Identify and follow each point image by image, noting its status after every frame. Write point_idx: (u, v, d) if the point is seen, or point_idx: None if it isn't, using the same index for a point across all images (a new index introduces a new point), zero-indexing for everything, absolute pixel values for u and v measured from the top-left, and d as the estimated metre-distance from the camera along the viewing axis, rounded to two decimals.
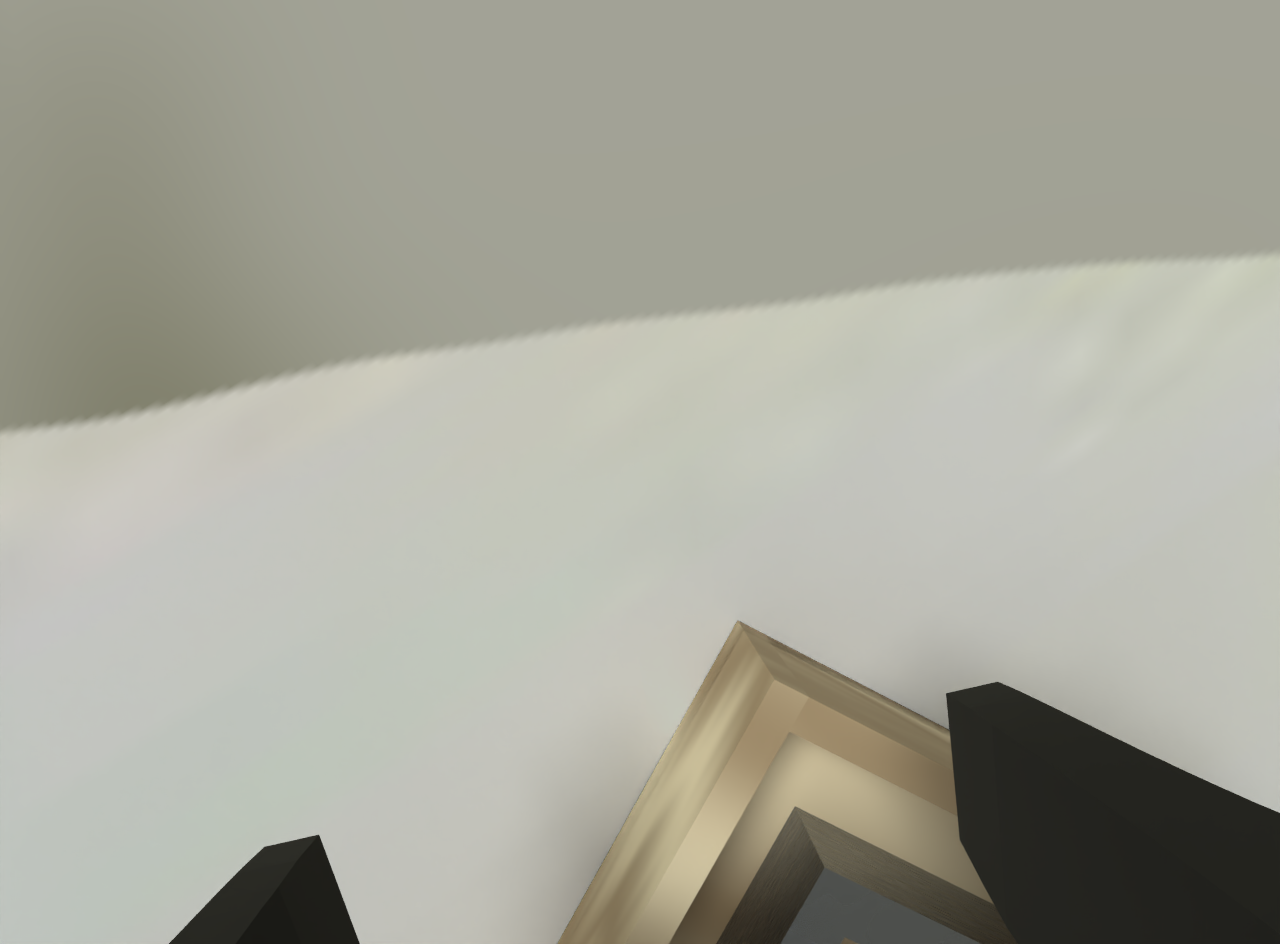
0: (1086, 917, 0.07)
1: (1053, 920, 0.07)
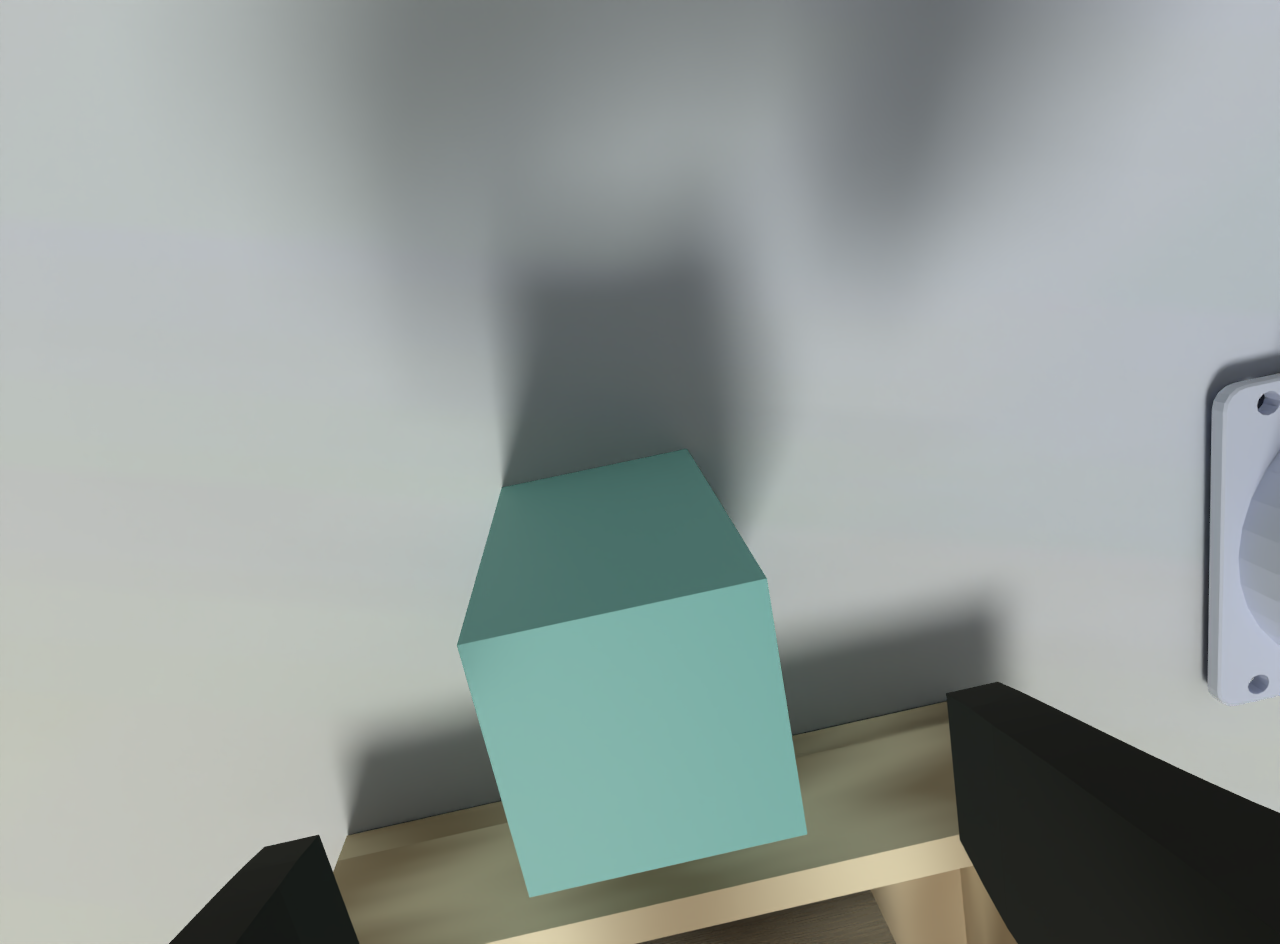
0: (1086, 917, 0.07)
1: (1053, 920, 0.07)
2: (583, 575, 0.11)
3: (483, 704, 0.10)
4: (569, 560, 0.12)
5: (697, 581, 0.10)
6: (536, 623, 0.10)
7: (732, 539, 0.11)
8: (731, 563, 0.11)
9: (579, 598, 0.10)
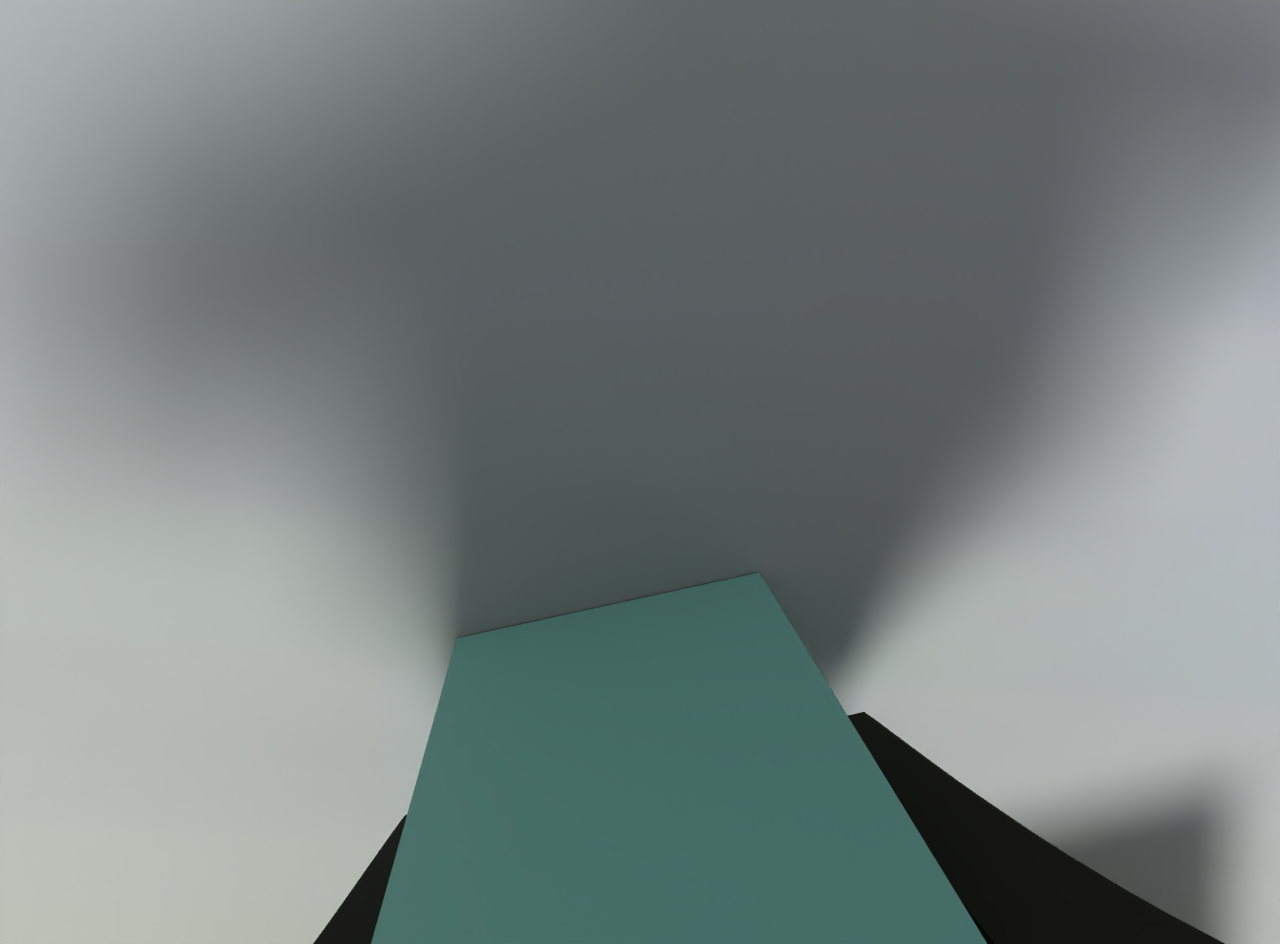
0: None
1: None
2: None
3: None
4: (568, 932, 0.05)
5: None
6: None
7: (946, 915, 0.05)
8: None
9: None
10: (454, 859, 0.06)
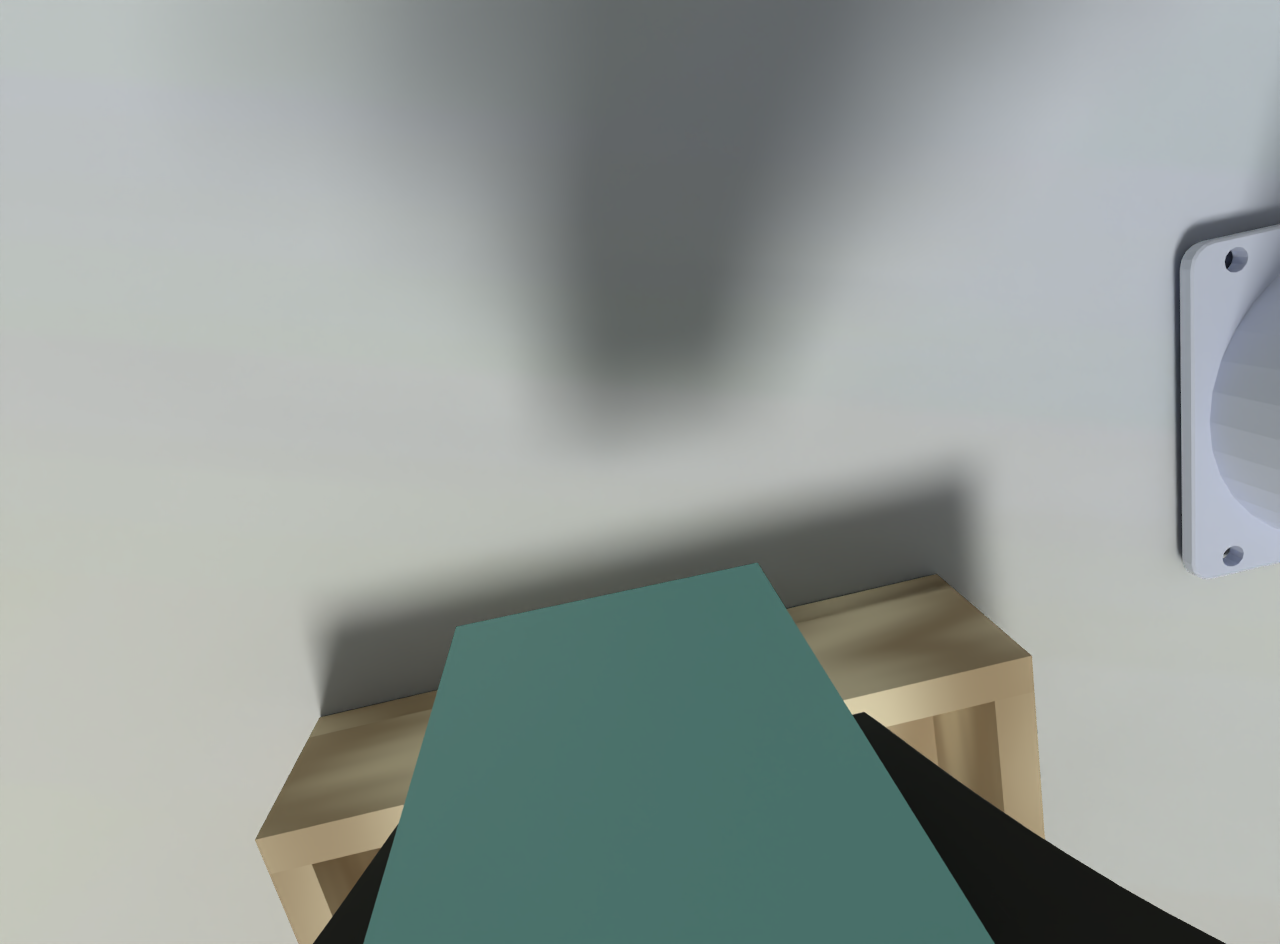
0: None
1: None
2: None
3: None
4: (566, 908, 0.05)
5: None
6: None
7: (938, 891, 0.05)
8: None
9: None
10: (453, 838, 0.06)
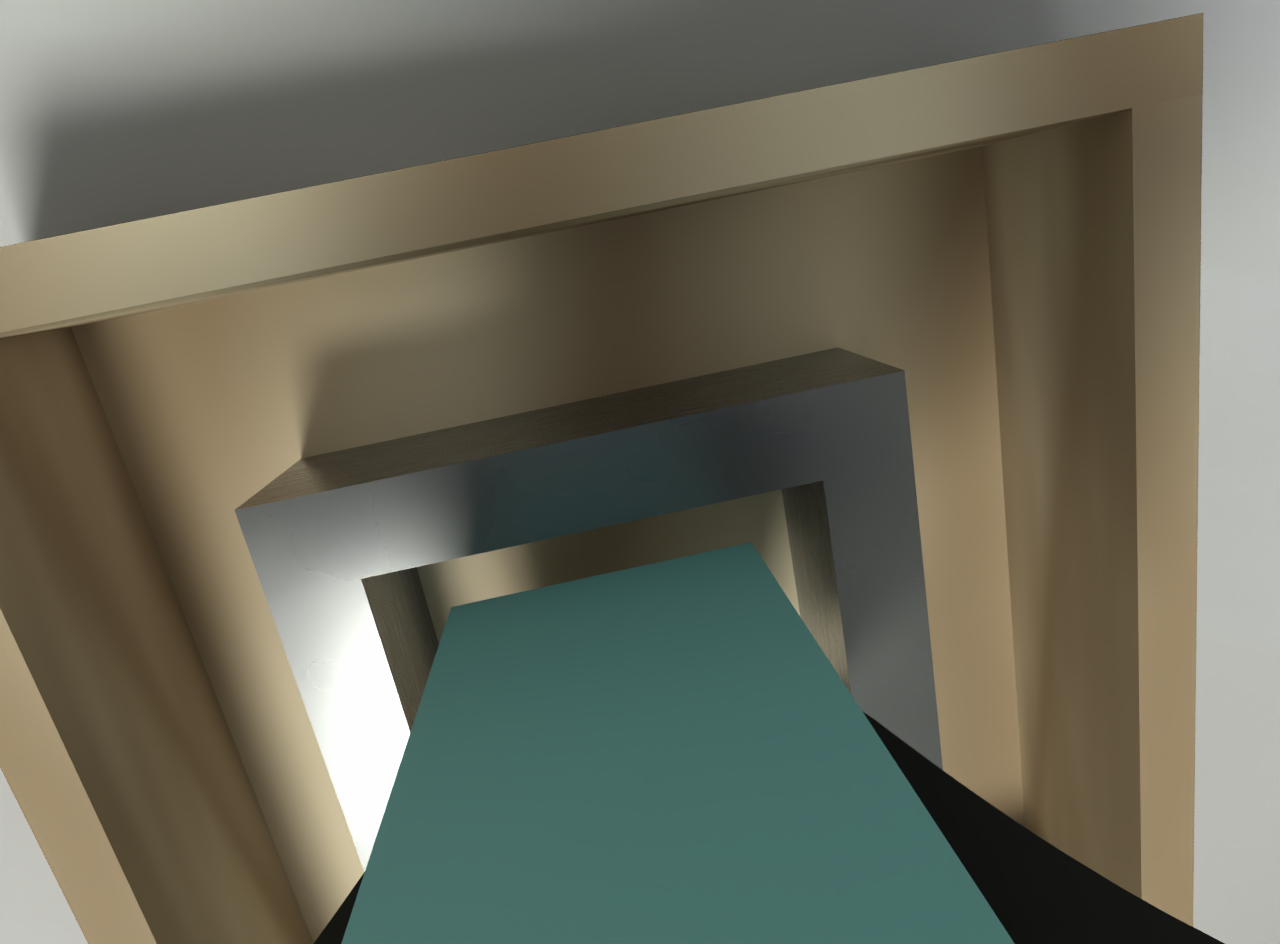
0: None
1: None
2: None
3: None
4: (555, 865, 0.05)
5: None
6: None
7: (925, 844, 0.05)
8: None
9: None
10: (445, 804, 0.06)
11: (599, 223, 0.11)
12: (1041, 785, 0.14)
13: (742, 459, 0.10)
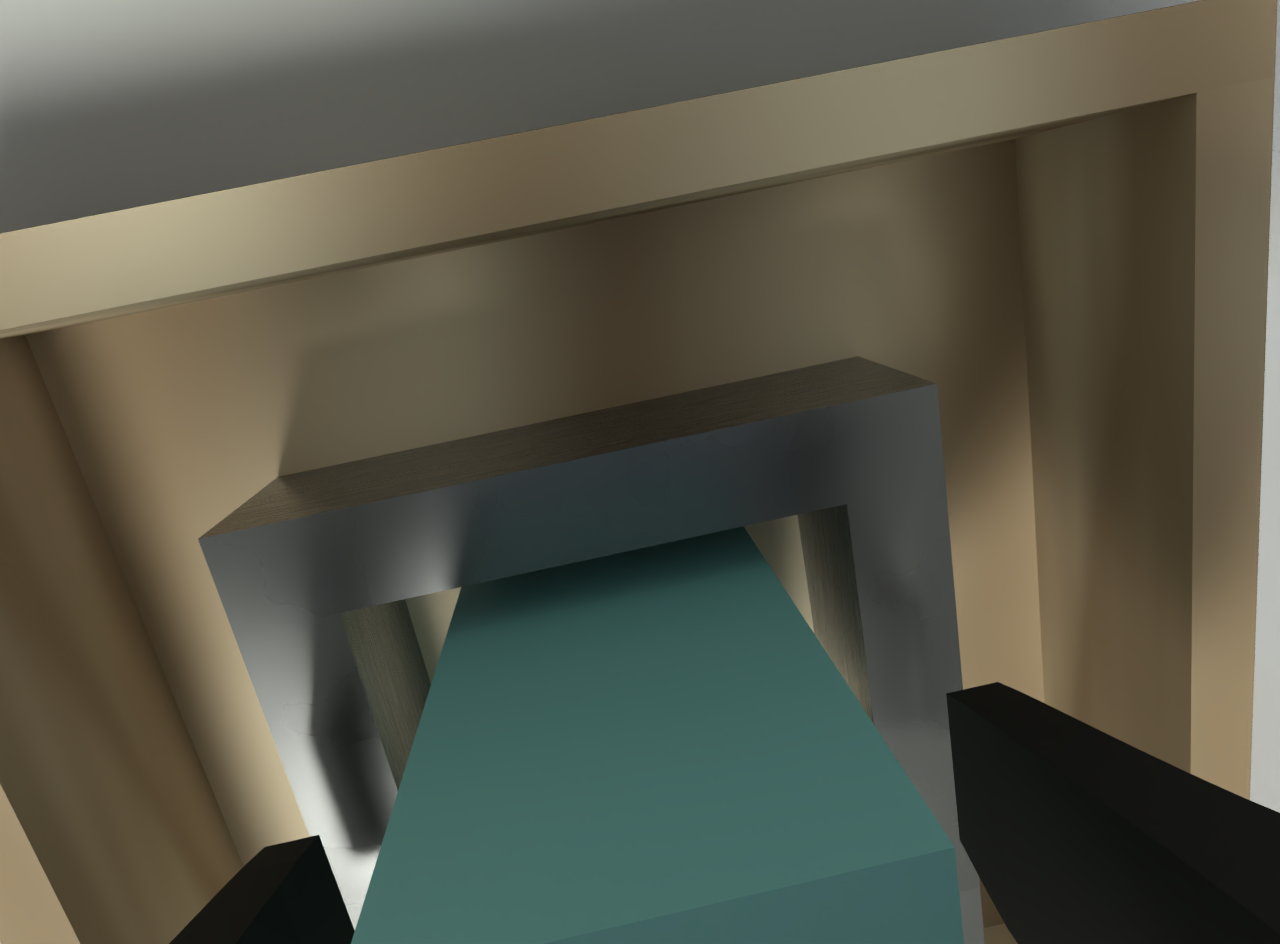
0: (1086, 917, 0.07)
1: (1053, 920, 0.07)
2: (589, 790, 0.06)
3: None
4: (562, 745, 0.07)
5: (808, 836, 0.05)
6: (498, 935, 0.05)
7: (851, 718, 0.06)
8: (866, 791, 0.06)
9: (581, 862, 0.06)
10: (472, 707, 0.08)
11: (600, 222, 0.10)
12: None
13: (758, 481, 0.09)
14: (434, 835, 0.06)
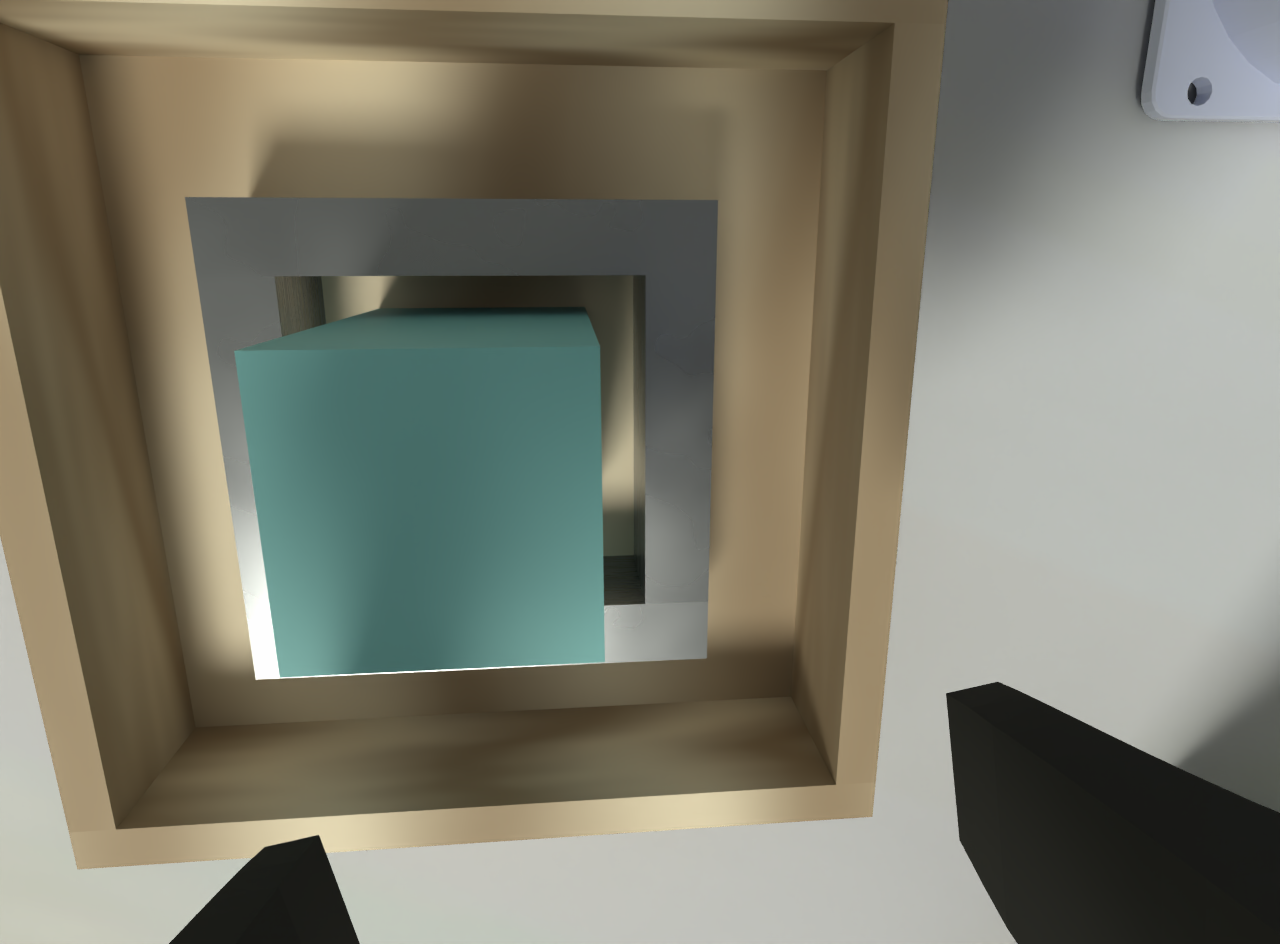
0: (1086, 917, 0.07)
1: (1053, 920, 0.07)
2: (411, 336, 0.10)
3: (255, 430, 0.09)
4: (404, 331, 0.11)
5: (525, 344, 0.09)
6: (333, 348, 0.09)
7: (584, 333, 0.10)
8: (570, 340, 0.10)
9: (393, 343, 0.09)
10: (353, 326, 0.12)
11: (520, 64, 0.14)
12: (805, 608, 0.17)
13: (586, 244, 0.13)
14: (309, 338, 0.10)
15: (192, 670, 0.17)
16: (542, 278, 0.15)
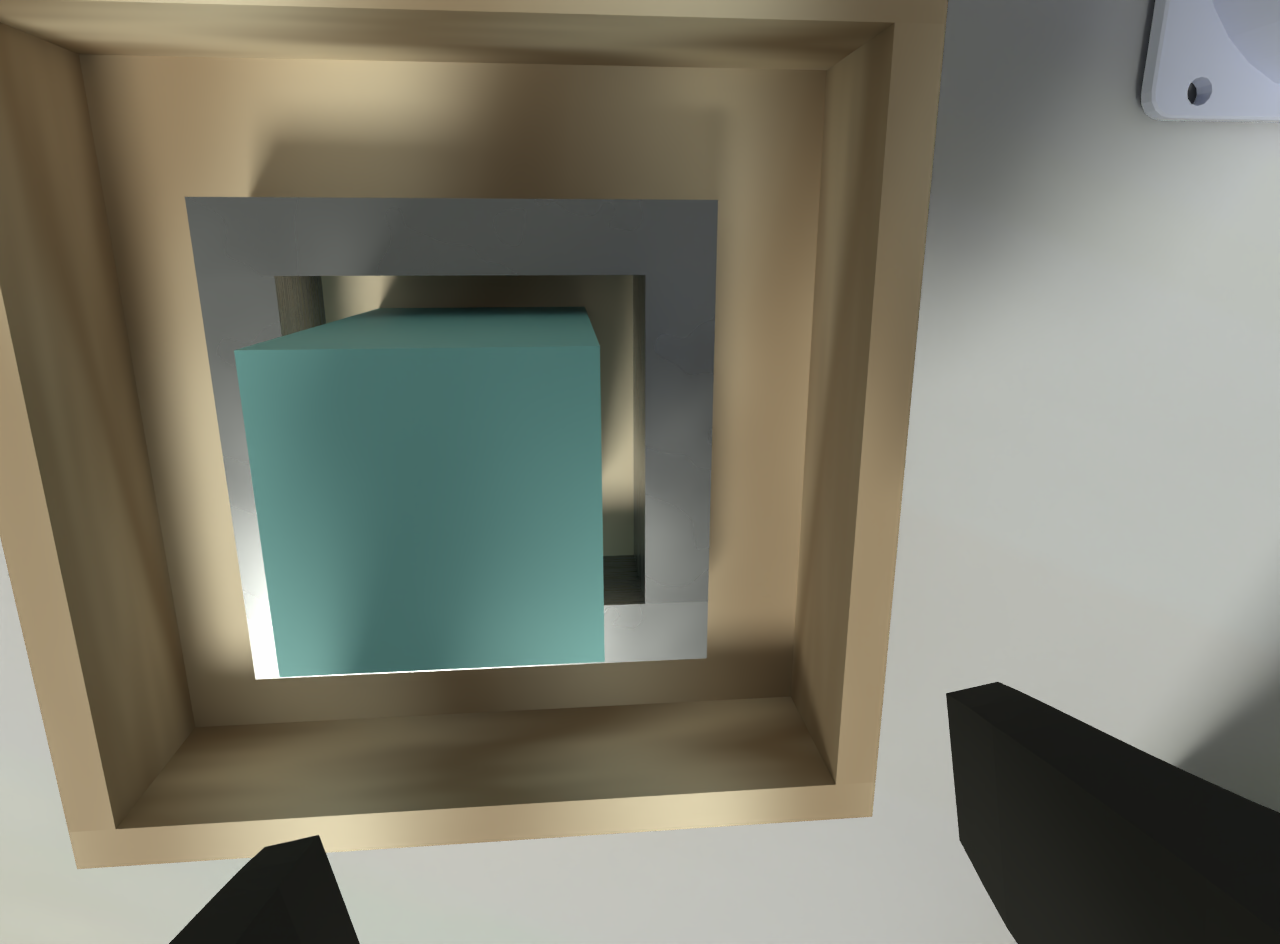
0: (1086, 917, 0.07)
1: (1053, 920, 0.07)
2: (411, 336, 0.10)
3: (255, 429, 0.09)
4: (404, 331, 0.11)
5: (525, 343, 0.09)
6: (333, 348, 0.09)
7: (584, 333, 0.10)
8: (570, 340, 0.10)
9: (393, 342, 0.09)
10: (353, 325, 0.12)
11: (520, 64, 0.14)
12: (805, 608, 0.17)
13: (585, 244, 0.13)
14: (309, 338, 0.10)
15: (192, 670, 0.17)
16: (542, 278, 0.15)
